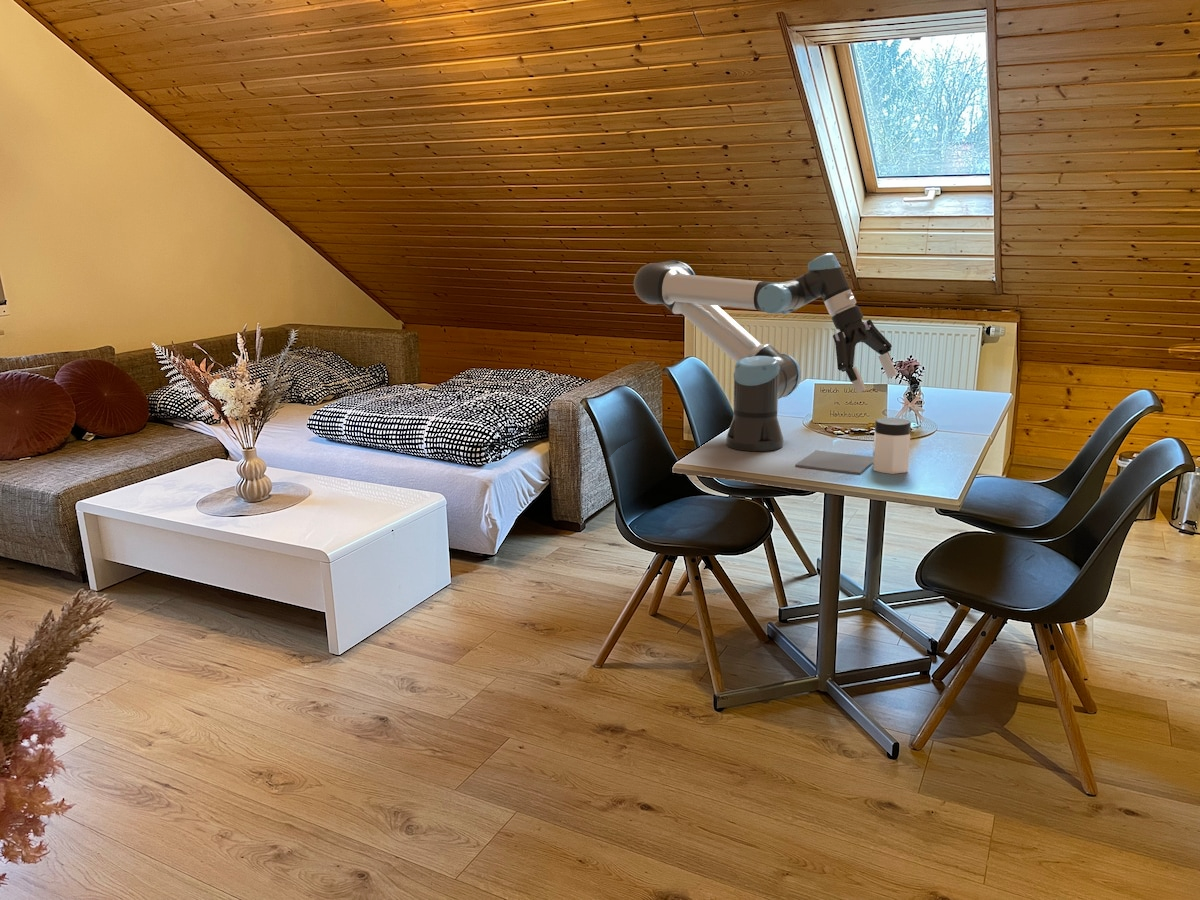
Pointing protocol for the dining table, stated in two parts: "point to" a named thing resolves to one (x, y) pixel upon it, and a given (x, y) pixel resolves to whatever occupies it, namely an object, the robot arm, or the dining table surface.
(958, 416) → the dining table surface
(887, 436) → the jar
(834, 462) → the mat
